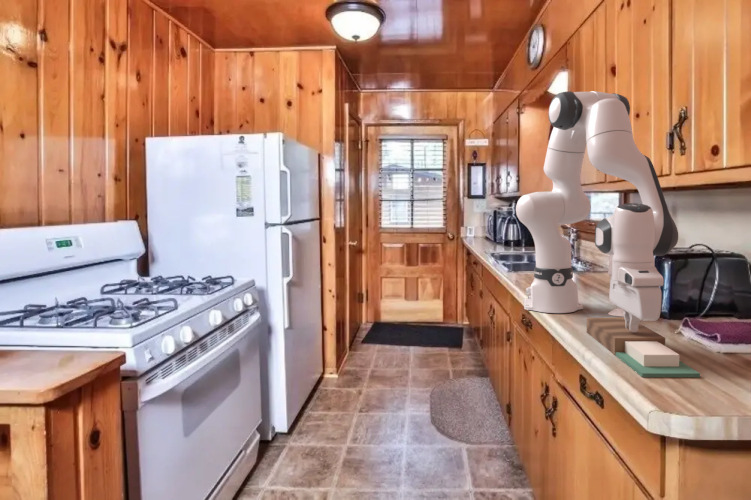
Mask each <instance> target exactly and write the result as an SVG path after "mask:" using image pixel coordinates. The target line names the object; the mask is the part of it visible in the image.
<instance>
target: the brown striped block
mask: <svg viewBox="0 0 751 500" xmlns="http://www.w3.org/2000/svg"><path fill="white" fill-rule="evenodd" d="M586 333H587V334H588V335H589V336H591V337H592V338H593V339H595V341H597V342H598V343H600V345H602V346H603V347H605V349H607V350H608V351H610V353H611V354H613V355H614V356H616V352H625V341H657V342H659V343H661V344H662V345H664V346H666V337H665V336H663V335H661V334H659V333H657V332H656V331H654V330H653V329H650V328H649V327H647V326H645V325H643V324H642V323H641V322H639V325H638V331H637V332H631V331H630V330H628V329H626V327H625V319H624V316H623V317H622V316H616V317H586Z"/></svg>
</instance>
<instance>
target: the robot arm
mask: <svg viewBox="0 0 751 500" xmlns="http://www.w3.org/2000/svg"><path fill="white" fill-rule="evenodd" d="M548 107H549V108H548V113H547V114H548V121H549V122H550V124H551V126H552V127H553V128H552V130H551V133H550V136H549V140H548V143H547V148H546V149H547V150H546V153H545V159H544V163H543V172H544V174H545V176H546V177H547V178H548V179H549V180H551V181H552V189H551V190H550V191H534V192H531V193H530V192H529V193H527V194H524V195H521V196H520V197H519V198H518V200H517V203H516V206H515V214H516V217H517V218H518V220H519V222H520V223H522V224H523V225H524V226H525V227H526V228H527V229H528V231H529V232H530V234H531V236H532V239H533V243H534V252H535V266H534V270H533V273H534V274H533V277H534V279H533V280H532V283H531V284H530V286H528V287H526V288H525V295H528V296H527V297H526V298H524V301H523V302H524V303H523V304H524V305H523V309H524V310H527V311H534V312H540V313H549V314H568V313H573V312H576V311H580V310H584V306H583V304H580V303H579V291H578V284H577V282H576V281H574V280H573V278H574V268H573V266H572V244H571V242H570V241H569V239H567V238H565V237H564V236H562V235H561V233H560V230H559V226H558V225H573V224H576V223H579V222H583V221H584V220H586V219H587V218H588V216H589V215H590V212H591V201H590V199H589V196H587V194H585V192H584V190H583V188H582V184H581V174H582V173H581V172H582V167H583V162H584V158H585V154H586V151H587V156H588V159H589V160H588V161H589V163H590V164H591V165H592V166H593V167H594V168H595V170H598V171H599V172H601V173H603V174H605V175H607V176H611V177H616V178H619V179H621V180H624V181H627V182H628V183H630V184H632V185H633V186H634V187H635V188H636V190H637V191H638V194H639V197H640V201H641V203H635V202H633V203H623V204H618V205H617V206H616V207H615V209H614V211H613V214H612V215H610V216H609V217H607V218H606V217H605V218H603V219H601V220H600V221H599V222H598V223H597V225H596V226H595V227H594V246H595V247H596V248H597V249H598V250H599V251H600V252H601V253H603V254H607V255H609V256H610V255H613V258H612V277H610V279H609V280H610V281H609V294H608V296H609V297H608V298H609V302H610V303H611V304H612V305H614V306H615V307H616V308H618V307H619V308H621V309H623V315H624V316H623V317H624V319H625V327H626V329H628V330H630V331H631V332H637V331H638V325H639V323H641V321H644V322H656V321H658V320H659V318H660V316H661V312H662V311H661V309H662V295H663V294H662V289H661V287H663V286H664V283H665V282H664V277H663V276H664V275H662V274H661V273H660V272H659V271H658V269H657V267H656V266H655V265H656V264H655V256H656V257H664V256H665V255H667V254H669V252H671V251H672V250H673V249H674V248H675V247H676V245H677V244H678V241H679V232H678V227H677V224H676V223H675V220H674V219H673V217H672V215H671V213H670V210H669V208H668V205H667V203H666V202H667V201H666V198H665V196H664V192H663V190H662V187H661V184H660V180H659V177H658V174H657V172H656V169H655V167H654V164H653V162H652V161H651V159H650V157H649V156H646V155H644V154H643V153H642V152H641V151H640V149H639V148H638V147H637V144H636V143H635V140H634V134H633V127H632V122H631V119H630V115H631V106H630V102H629V99H628V98H627V97H626V96H624V95H621V94H618V93H615V92H613V93H610V92H609V93H608V92H604V91H596V90H595V91H594V90H591V91H571V90H568V91H562V92H559V93H557V94H556V95H555V96H554V97H553V98H552V100H551V102H550V104H549V106H548Z"/></svg>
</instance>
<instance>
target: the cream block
mask: <svg viewBox="0 0 751 500" xmlns="http://www.w3.org/2000/svg"><path fill="white" fill-rule="evenodd" d="M625 353H627V354H628V355H629V356H631V357H632V358H633V359H635V360H636V361H637V362H639V363H640V364H641V365H643V366H679V361H680V354H679V353H677V352H676V351H674V350H673V349H671V348H669V347H667V346H666V345H665V346H664V345H662V344H661V343H659V342H657V341H625Z"/></svg>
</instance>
